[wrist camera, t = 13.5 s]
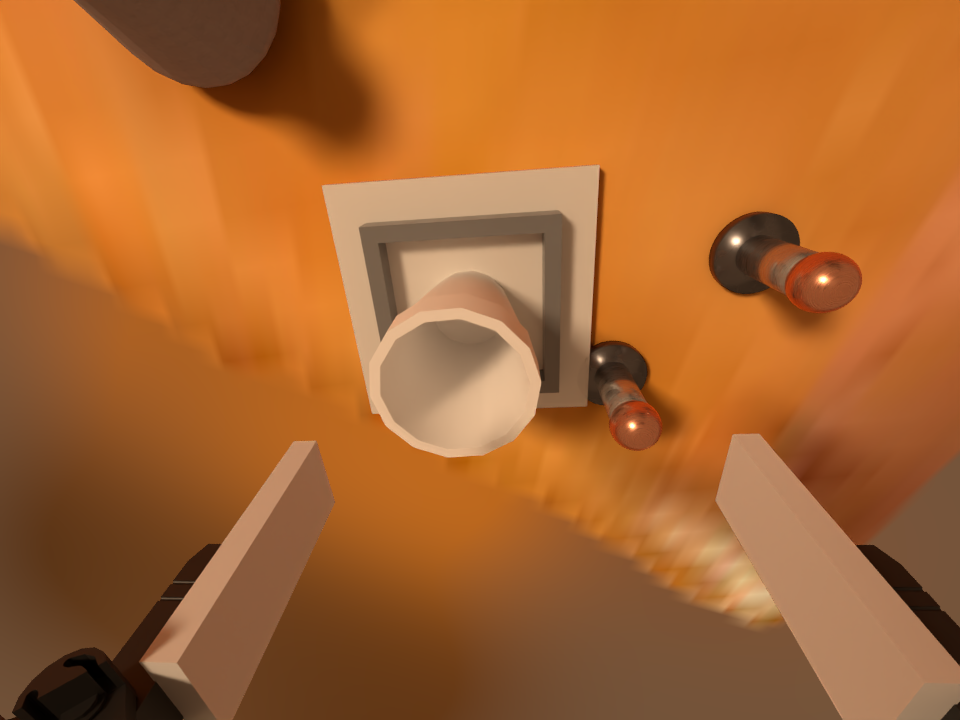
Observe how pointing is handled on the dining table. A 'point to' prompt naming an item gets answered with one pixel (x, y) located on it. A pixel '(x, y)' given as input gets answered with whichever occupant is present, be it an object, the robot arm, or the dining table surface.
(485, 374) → the foam cup
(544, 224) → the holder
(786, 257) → the pegs
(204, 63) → the coffee pot
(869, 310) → the dining table surface
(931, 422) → the dining table surface
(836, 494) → the dining table surface
